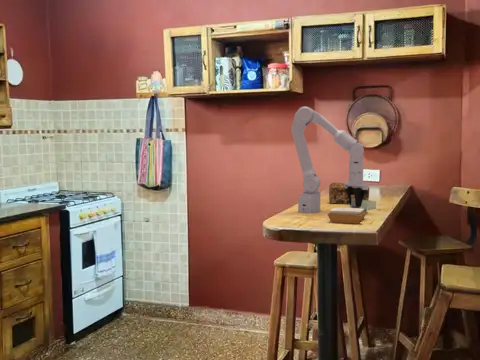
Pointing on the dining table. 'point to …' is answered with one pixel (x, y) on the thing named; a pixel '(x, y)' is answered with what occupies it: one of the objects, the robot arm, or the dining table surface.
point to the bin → (368, 204)
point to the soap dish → (346, 215)
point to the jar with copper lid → (353, 201)
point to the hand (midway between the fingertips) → (355, 206)
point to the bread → (341, 194)
